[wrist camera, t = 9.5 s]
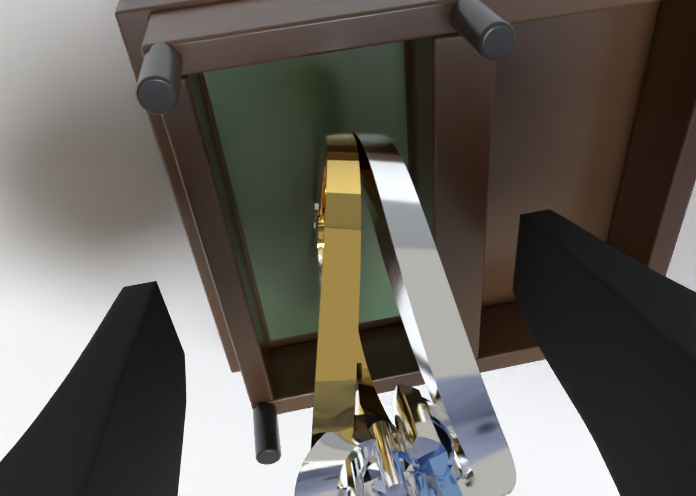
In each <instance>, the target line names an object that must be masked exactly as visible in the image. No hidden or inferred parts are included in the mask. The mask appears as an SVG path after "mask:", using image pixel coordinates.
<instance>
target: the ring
mask: <svg viewBox="0 0 696 496" xmlns="http://www.w3.org/2000/svg"><path fill="white" fill-rule="evenodd" d="M360 183H361V185H360ZM361 186H362V188H363V191H364V195H365V198H366V201H367V204H368V208H369V211H370V215H371V218H372V222H373V226H374V229H375V233H376V236H377V240H378V244H379V247H380V251H381V254H382V257H383V261H384V264H385V268H386V271H387V274H388V278H389V281H390V284H391V287H392V291H393V294H394V297H395V300H396V303H397V306H398V309H399V312H400V315H401V318H402V321H403V324H404V327H405V330H406V333H407V336H408V339H409V342H410V344H411V347H412V350H413V353H414V355H415V358H416V361H417V363H418V366H419V369H420V371H421V374H422V376H423V379H424V381H425V384H426V386H427V389H428V391H429V394H430V396H431V398H432V401H433V403H434V404H433V403H431V402H430V401H429V400H427V399H425V398H423V397H422V396H421V394H420V392H419V390H417V389H415V388H413V387H410V386H407V385H403V384H398V385H397V386H396V388H395V391H394V394H393V398H392V407H393V410H394V413H395V424H396V427H395V426H394V425H392V423H391V421H390V420H389V418H388V416H387V414H386V412H385V410H384V408H383V406H382V404H381V402H380V400H379V397H378V395H377V393H376V390H375V388H374V385H373V382H372V380H371V377H370V374H369V371H368V367H367V364H366V361H365V357H364V353H363V349H362V345H361V341H360V336H359V332H358V323H359V298H360V265H361ZM312 227H313V231H315V267H316V288H317V304H318V317H319V329H318V345H317V360H316V376H315V392H314V408H313V425H312V442H311V450H310V452H309V453H308V455H307V457H306V459H305V460H304V462H303V464H302V467H301V469H300V472H299V475H298V478H297V482H296V487H295V496H507V495H509V494H510V493H511V492H512V490H513V489H514V486H515V483H516V471H515V466H514V462H513V458H512V455H511V452H510V450H509V447H508V444H507V442H506V439H505V437H504V434H503V432H502V429H501V427H500V424H499V422H498V419H497V417H496V414H495V412H494V409H493V407H492V404H491V401H490V399H489V396H488V394H487V391H486V388H485V385H484V383H483V380H482V377H481V374H480V372H479V369H478V366H477V363H476V360H475V358H474V355H473V352H472V349H471V346H470V343H469V341H468V338H467V335H466V332H465V329H464V326H463V323H462V320H461V318H460V315H459V312H458V309H457V306H456V303H455V300H454V297H453V294H452V292H451V289H450V286H449V283H448V280H447V277H446V274H445V272H444V269H443V266H442V263H441V260H440V257H439V255H438V252H437V249H436V246H435V243H434V240H433V238H432V235H431V232H430V229H429V226H428V224H427V221H426V218H425V215H424V212H423V210H422V207H421V204H420V201H419V199H418V196H417V193H416V191H415V188H414V185H413V183H412V180H411V178H410V175H409V173H408V171H407V168H406V166H405V164H404V162H403V160H402V158H401V156H400V154H399V152H398V151H397V149H396V147H395V146H394V144H393V143H392V142H391V140H390V139H389V138H388V137H387V136H386V135H384V134H383V133H381V132H375V131H350V130H333V131H324V132H323V136H322V141H321V148H320V157H319V168H318V181H317V197H316V200H313V209H312ZM454 449H455V452H456V454H457V456H458V459H459V462H460V465H461V469H462V470H461V469H460V468H458V466H457V464H456V462H455V459H454Z"/></svg>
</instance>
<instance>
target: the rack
mask: <svg viewBox="0 0 696 496" xmlns="http://www.w3.org/2000/svg"><path fill="white" fill-rule="evenodd" d="M115 16H116V19H117V23H118V26H119V29H120V32H121V35H122V38H123V41H124V44H125V47H126V50H127V53H128V56H129V59H130V62H131V65H132V69H133V72H134V75H135V78H136V81H137V87H136V98H137V101H138V103H139V104H140V105H141V107H142V108H144V109H145V110H146V112H147V115H148V118H149V121H150V124H151V127H152V130H153V133H154V136H155V139H156V142H157V145H158V148H159V151H160V154H161V158H162V161H163V164H164V167H165V170H166V173H167V176H168V179H169V182H170V185H171V188H172V191H173V194H174V197H175V200H176V204H177V207H178V210H179V213H180V216H181V219H182V222H183V225H184V228H185V231H186V234H187V237H188V240H189V243H190V247H191V250H192V253H193V256H194V259H195V262H196V265H197V268H198V271H199V274H200V277H201V280H202V283H203V286H204V289H205V293H206V296H207V299H208V302H209V305H210V308H211V311H212V314H213V317H214V320H215V323H216V326H217V329H218V332H219V336H220V339H221V342H222V345H223V348H224V351H225V354H226V357H227V360H228V363H229V366H230V369H231V371H232V372H238V371H241V373H242V376H243V380H244V383H245V386H246V389H247V393H248V396H249V399H250V402H251V406H252V409H253V420H254V436H255V451H256V459H257V461H258V462H259V463H261V464H273V463H275V462H277V461H278V460H279V459H280V457H281V448H280V438H279V428H278V418H277V414H281V413H286V412H291V411H296V410H301V409H306V408H311V407H314V392H315V376H316V360H317V345H318V329H319V317H318V304H317V288H316V267H315V231H313V227H312V209H313V200H316V197H317V181H318V168H319V157H320V148H321V141H322V136H323V132H324V131H333V130H350V131H375V132H381V133H383V134H384V135H386V136H387V137H388V138H389V139H390V140H391V142H392V143H393V144H394V146H395V147H396V149H397V151H398V152H399V154H400V156H401V158H402V160H403V162H404V164H405V166H406V168H407V171H408V173H409V175H410V178H411V180H412V183H413V185H414V188H415V191H416V193H417V196H418V199H419V201H420V204H421V207H422V210H423V212H424V215H425V218H426V221H427V224H428V226H429V229H430V232H431V235H432V238H433V240H434V243H435V246H436V249H437V252H438V255H439V257H440V260H441V263H442V266H443V269H444V272H445V274H446V277H447V280H448V283H449V286H450V289H451V292H452V294H453V297H454V300H455V303H456V306H457V309H458V312H459V315H460V318H461V320H462V323H463V326H464V329H465V332H466V335H467V338H468V341H469V343H470V346H471V349H472V352H473V355H474V358H475V360H476V363H477V366H478V369H479V372H480V373H481V372H486V371H491V370H496V369H501V368H505V367H510V366H515V365H520V364H525V363H530V362H535V361H540V360H544V359H546V358H545V357H544V355H543V353H542V352H541V350H540V348H539V347H538V345H537V343H536V341H535V340H534V338H533V336H532V335H531V333H530V331H529V328H528V326H527V324H526V322H525V320H524V317H523V315H522V313H521V310H520V308H519V306H518V303H517V301H516V298H515V296H514V293H513V291H512V288H513V279H514V269H515V260H516V250H517V240H518V231H519V221H520V214H525V213H531V212H536V211H542V210H547V209H550V210H552V211H554V212H556V213H558V214H559V215H561V216H563V217H565V218H566V219H568V220H570V221H571V222H573V223H575V224H576V225H578V226H579V227H581V228H583V229H584V230H586V231H588V232H589V233H591V234H593V235H594V236H596V237H597V238H599V239H601V240H602V241H604V242H606V243H607V244H609V245H611V246H612V247H614V248H616V249H617V250H619V251H621V252H622V253H624V254H626V255H627V256H629V257H631V258H633V259H634V260H636V261H638V262H640V263H641V264H643V265H645V266H647V267H648V268H650V269H652V270H654V271H656V272H658V273H659V274H661V275H663V276H666V273H667V270H668V267H669V264H670V260H671V257H672V254H673V251H674V248H675V244H676V241H677V238H678V235H679V232H680V228H681V225H682V222H683V219H684V216H685V212H686V209H687V206H688V203H689V200H690V197H691V193H692V190H693V187H694V184H695V181H696V0H122V1H120V2H119V4H118V7H117V9H116V11H115ZM360 185H361V183H360ZM358 332H359V336H360V341H361V345H362V349H363V353H364V357H365V361H366V364H367V367H368V371H369V374H370V377H371V380H372V382H373V385H374V388H375V390H376V393H377V394H379V393H384V392H389V391H393V390H395V388H396V386H397V385H398V384H403V385H407V386H410V387H413V386H418V385H423V384H425V381H424V379H423V376H422V374H421V371H420V369H419V366H418V363H417V361H416V358H415V355H414V353H413V350H412V347H411V344H410V342H409V339H408V336H407V333H406V330H405V327H404V324H403V321H402V318H401V315H400V312H399V309H398V306H397V303H396V300H395V297H394V294H393V291H392V287H391V284H390V281H389V278H388V274H387V271H386V268H385V264H384V261H383V257H382V254H381V251H380V247H379V244H378V240H377V236H376V233H375V229H374V226H373V222H372V218H371V215H370V211H369V208H368V204H367V201H366V198H365V195H364V191H363V188H362V186H361V265H360V298H359V323H358Z"/></svg>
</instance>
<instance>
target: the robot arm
mask: <svg viewBox="0 0 696 496" xmlns="http://www.w3.org/2000/svg"><path fill="white" fill-rule="evenodd" d="M512 291H513V293H514V296H515V298H516V301H517V303H518V306H519V308H520V310H521V313H522V315H523V317H524V320H525V322H526V324H527V326H528V328H529V331H530V333H531V335H532V336H533V338H534V340H535V341H536V343H537V345H538V347H539V348H540V350H541V352H542V353H543V355H544V357H545V358H546V360H547V362H548V363H549V365H550V367H551V368H552V370H553V372H554V373H555V375H556V376H557V378H558V380H559V381H560V383H561V385H562V386H563V388H564V390H565V391H566V393H567V394H568V396H569V398H570V399H571V401H572V403H573V404H574V406H575V408H576V409H577V411H578V413H579V414H580V416H581V418H582V419H583V421H584V422H585V424H586V426H587V428H588V430H589V432H590V433H591V435H592V437H593V439H594V441H595V443H596V445H597V447H598V449H599V451H600V453H601V455H602V457H603V459H604V461H605V464H606V466H607V468H608V470H609V472H610V474H611V476H612V478H613V480H614V483H615V485H616V487H617V489H618V491H619V494H620V496H696V292H694V291H692V290H690V289H688V288H686V287H684V286H682V285H680V284H678V283H676V282H675V281H673V280H671V279H669V278H667V277H665V276H663V275H661V274H659V273H658V272H656V271H654V270H652V269H650V268H648V267H647V266H645V265H643V264H641V263H640V262H638V261H636V260H634V259H633V258H631V257H629V256H627V255H626V254H624V253H622V252H621V251H619V250H617V249H616V248H614V247H612V246H611V245H609V244H607V243H606V242H604V241H602V240H601V239H599V238H597V237H596V236H594V235H593V234H591V233H589V232H588V231H586V230H584V229H583V228H581V227H579V226H578V225H576V224H575V223H573V222H571V221H570V220H568V219H566V218H565V217H563V216H561V215H559V214H558V213H556V212H554V211H552V210H550V209H547V210H542V211H536V212H531V213H525V214H520V221H519V231H518V240H517V250H516V260H515V269H514V279H513V288H512ZM185 411H186V375H185V354H184V351H183V349H182V346H181V343H180V341H179V338H178V336H177V333H176V331H175V328H174V325H173V323H172V320H171V318H170V315H169V313H168V310H167V307H166V305H165V302H164V300H163V297H162V295H161V292H160V289H159V287H158V284H157V282H156V281H154V282H149V283H143V284H138V285H132V286H127V287H124V288H123V289H122V290H121V292H120V293H119V295H118V296H117V298H116V300H115V301H114V303H113V304H112V306H111V308H110V309H109V311H108V313H107V314H106V316H105V318H104V319H103V321H102V322H101V324H100V326H99V327H98V329H97V331H96V332H95V334H94V335H93V337H92V339H91V340H90V342H89V343H88V345H87V346H86V348H85V349H84V351H83V352H82V354H81V356H80V357H79V359H78V360H77V362H76V363H75V365H74V366H73V368H72V369H71V371H70V372H69V374H68V375H67V377H66V378H65V380H64V381H63V382H62V384H61V385H60V387H59V388H58V389H57V391H56V392H55V393H54V395H53V396H52V398H51V399H50V400H49V402H48V403H47V404H46V406H45V407H44V408H43V410H42V411H41V413H40V414H39V415H38V417H37V418H36V419H35V421H34V422H33V423H32V424H31V426H30V427H29V428H28V429H27V431H26V432H25V433H24V434H23V436H22V437H21V438H20V439H19V441H18V442H17V443H16V444H15V446H14V447H13V448H12V449H11V450H10V451H9V452H8V454H7V455H6V456H5V457H4V458H3V459H2V461H1V462H0V496H177V495H178V485H179V475H180V464H181V454H182V444H183V433H184V422H185Z"/></svg>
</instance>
